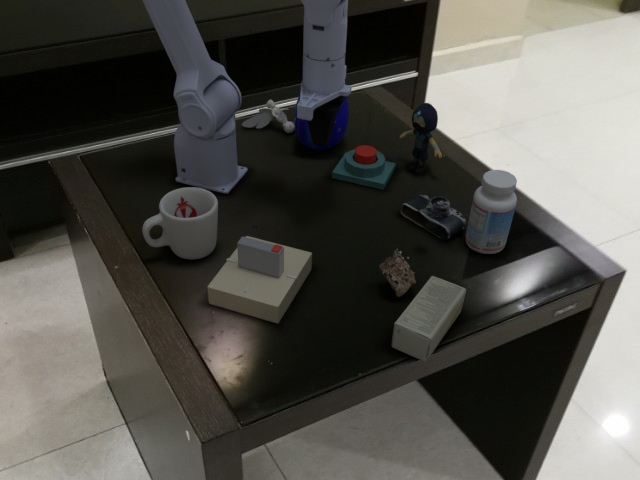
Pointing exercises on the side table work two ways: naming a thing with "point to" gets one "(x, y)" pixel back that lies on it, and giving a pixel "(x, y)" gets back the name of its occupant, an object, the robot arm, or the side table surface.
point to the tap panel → (260, 285)
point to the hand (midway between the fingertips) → (320, 143)
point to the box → (428, 318)
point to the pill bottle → (492, 212)
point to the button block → (364, 171)
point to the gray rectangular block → (260, 256)
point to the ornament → (337, 131)
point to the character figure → (423, 135)
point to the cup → (186, 222)
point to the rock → (398, 273)
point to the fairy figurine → (269, 118)
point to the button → (365, 155)
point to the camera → (434, 215)
